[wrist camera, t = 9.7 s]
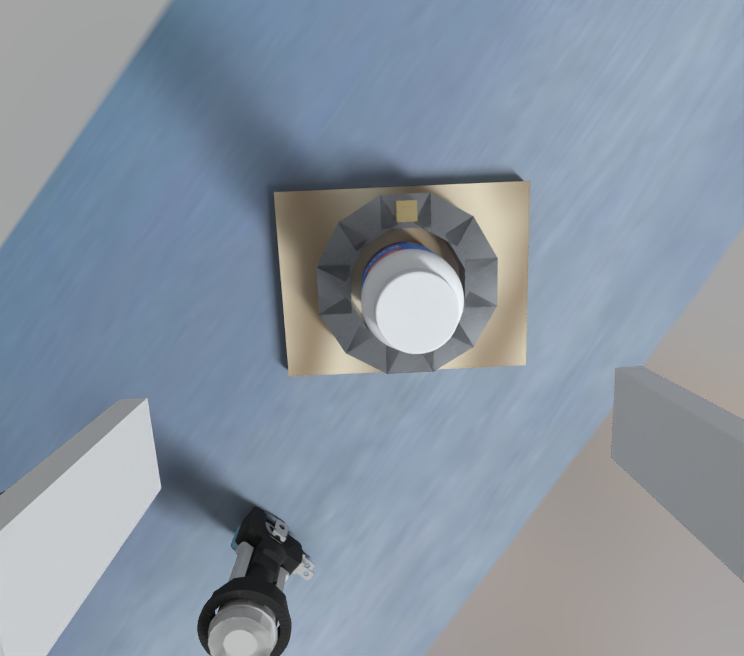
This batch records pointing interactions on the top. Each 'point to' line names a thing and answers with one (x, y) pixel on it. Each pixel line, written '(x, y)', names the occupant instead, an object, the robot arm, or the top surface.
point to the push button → (254, 592)
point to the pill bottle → (411, 298)
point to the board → (327, 207)
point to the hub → (397, 214)
